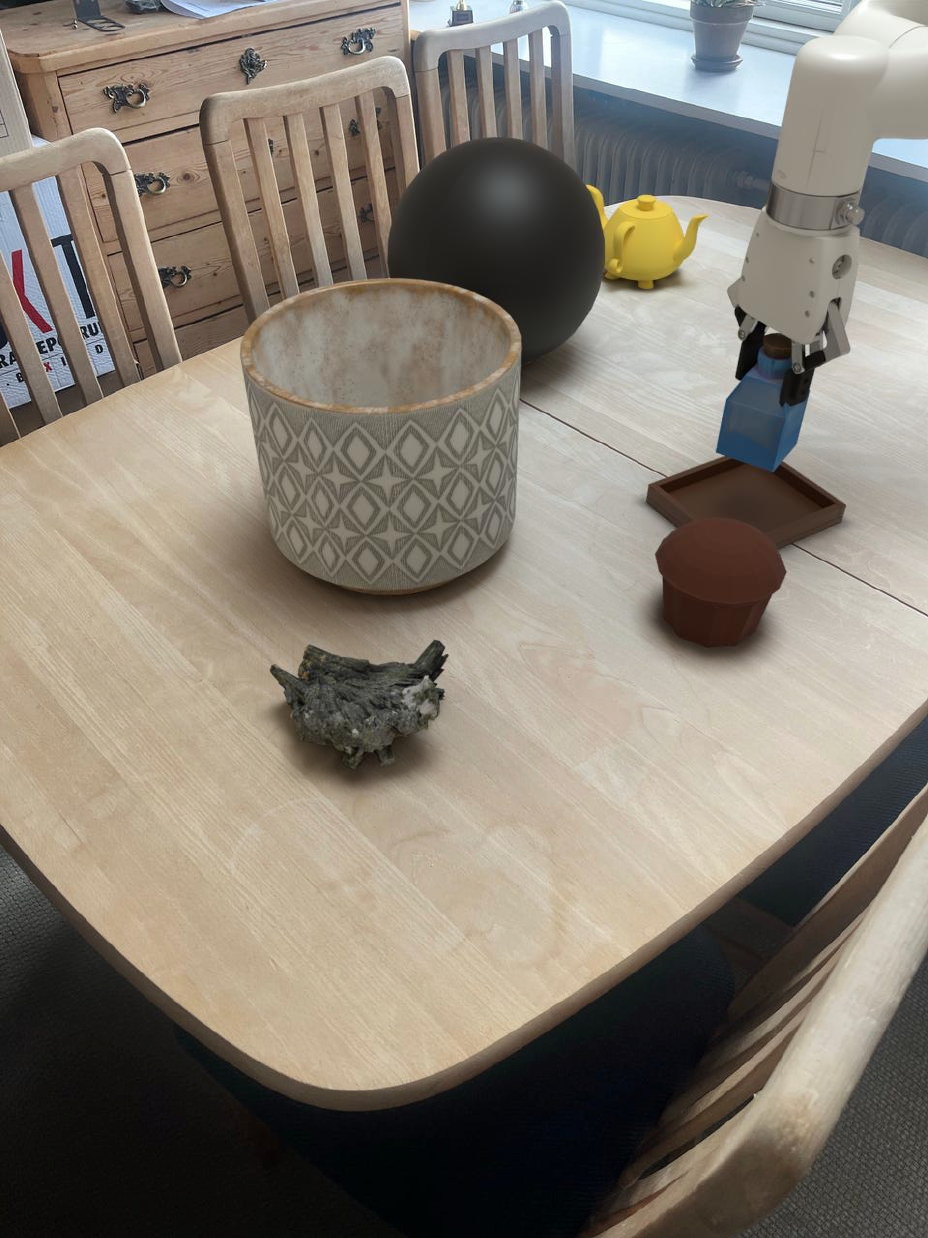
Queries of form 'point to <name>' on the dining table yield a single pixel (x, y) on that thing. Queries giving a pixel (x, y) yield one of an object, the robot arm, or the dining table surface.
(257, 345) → the planter
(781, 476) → the tray
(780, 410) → the perfume bottle
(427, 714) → the mineral specimen
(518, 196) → the ball
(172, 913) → the dining table surface
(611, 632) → the dining table surface
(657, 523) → the dining table surface
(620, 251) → the teapot
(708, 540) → the muffin
